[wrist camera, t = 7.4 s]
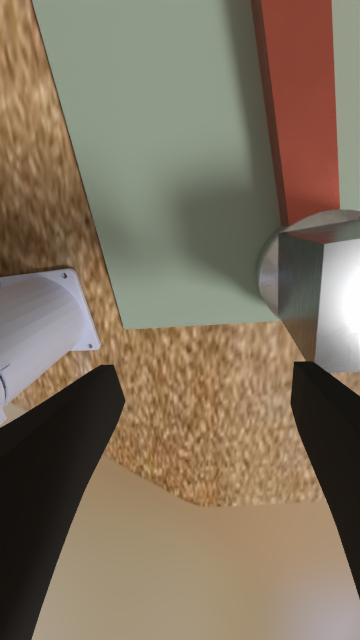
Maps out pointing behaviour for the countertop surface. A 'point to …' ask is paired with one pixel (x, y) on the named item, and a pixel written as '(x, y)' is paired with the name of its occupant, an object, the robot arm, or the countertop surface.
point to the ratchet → (298, 122)
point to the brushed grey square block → (322, 293)
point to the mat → (183, 147)
